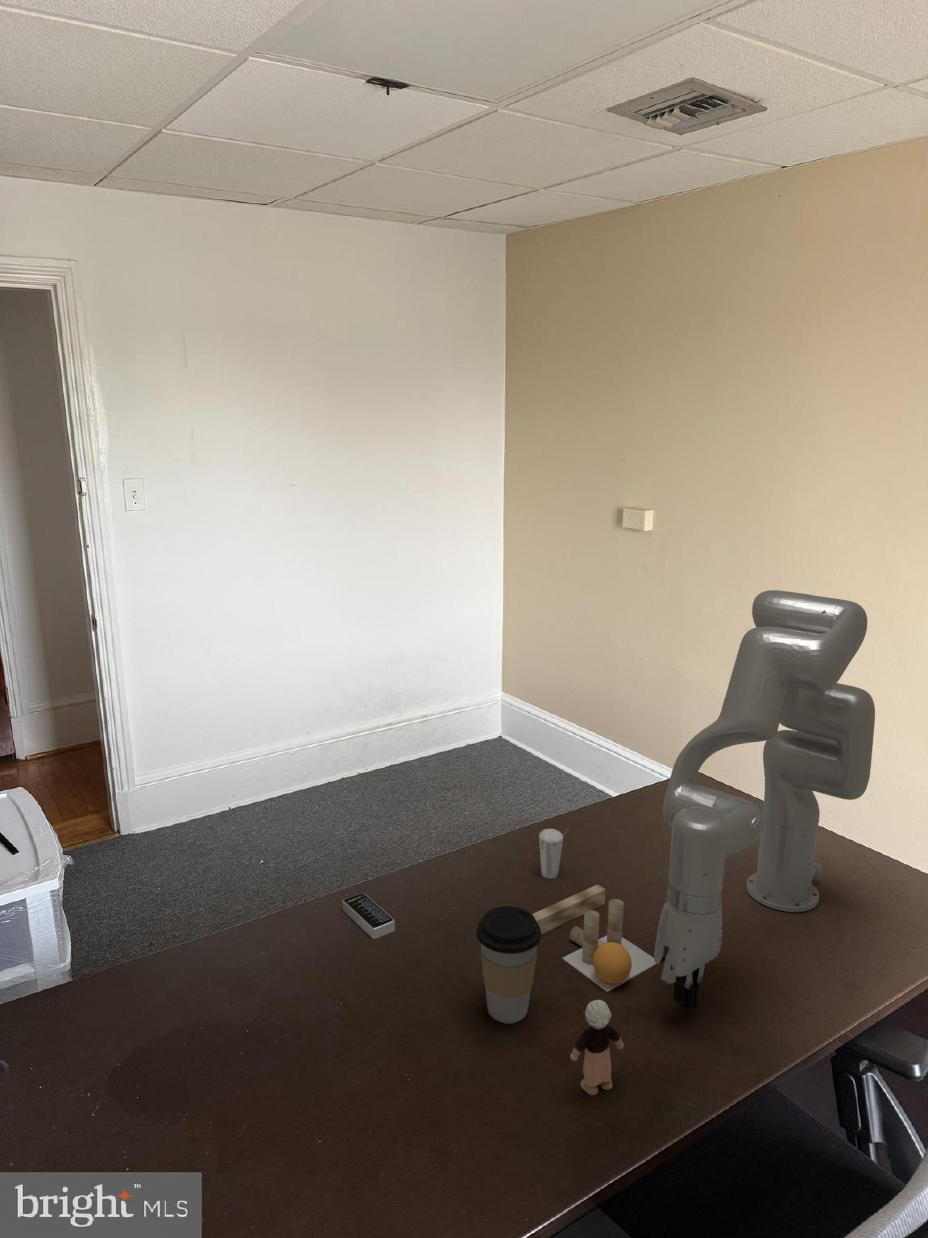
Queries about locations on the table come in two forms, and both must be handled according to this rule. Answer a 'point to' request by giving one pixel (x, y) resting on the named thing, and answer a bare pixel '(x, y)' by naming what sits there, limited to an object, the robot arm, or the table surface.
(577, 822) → the table surface
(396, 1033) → the table surface
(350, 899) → the multiport hub
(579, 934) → the front pin
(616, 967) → the ball
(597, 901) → the back rail
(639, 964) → the pin deck mark
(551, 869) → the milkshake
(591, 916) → the left pin
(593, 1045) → the grandmother figurine
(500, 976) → the coffee cup
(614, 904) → the right pin
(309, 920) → the table surface
